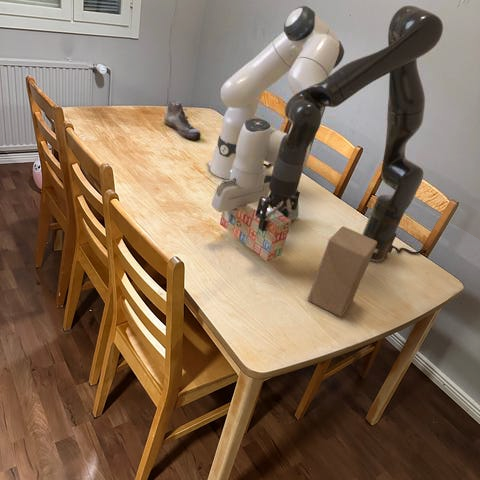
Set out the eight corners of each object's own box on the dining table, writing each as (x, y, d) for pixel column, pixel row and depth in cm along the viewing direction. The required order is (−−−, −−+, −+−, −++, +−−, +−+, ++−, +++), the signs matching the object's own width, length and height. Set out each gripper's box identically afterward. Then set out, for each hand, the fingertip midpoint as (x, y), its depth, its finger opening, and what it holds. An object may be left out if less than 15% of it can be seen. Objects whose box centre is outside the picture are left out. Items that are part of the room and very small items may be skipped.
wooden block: (340, 318, 116) (366, 256, 105) (306, 300, 119) (328, 239, 108) (352, 300, 123) (378, 241, 113) (320, 283, 127) (342, 225, 116)
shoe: (204, 141, 203) (208, 115, 196) (182, 142, 197) (185, 115, 190) (182, 121, 220) (185, 97, 213) (161, 121, 214) (164, 96, 207)
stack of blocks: (218, 224, 136) (225, 189, 130) (233, 220, 140) (241, 185, 134) (266, 261, 125) (277, 224, 118) (281, 255, 129) (292, 219, 122)
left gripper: (226, 187, 118) (217, 230, 126) (277, 175, 131) (266, 215, 139) (211, 177, 122) (204, 219, 129) (262, 166, 135) (253, 205, 142)
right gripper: (278, 185, 109) (264, 239, 117) (314, 176, 118) (298, 227, 127) (257, 172, 113) (245, 225, 122) (293, 164, 122) (279, 215, 131)
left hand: (237, 217), depth 134 cm, fingers closed on stack of blocks, 6 cm apart
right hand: (272, 226), depth 124 cm, fingers open, 8 cm apart
